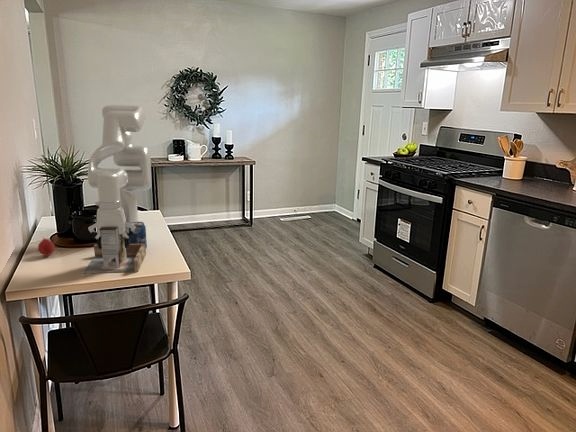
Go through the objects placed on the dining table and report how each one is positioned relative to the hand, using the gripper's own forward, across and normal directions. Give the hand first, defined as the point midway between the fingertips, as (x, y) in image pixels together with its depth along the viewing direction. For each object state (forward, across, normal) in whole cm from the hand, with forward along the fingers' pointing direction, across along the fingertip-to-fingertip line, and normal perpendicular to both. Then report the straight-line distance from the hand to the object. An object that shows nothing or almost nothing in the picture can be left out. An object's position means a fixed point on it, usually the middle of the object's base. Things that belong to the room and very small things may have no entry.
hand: (113, 247), depth 165 cm
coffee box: (+7, 0, 0) cm, 7 cm away
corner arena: (+7, 0, +1) cm, 7 cm away
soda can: (+7, +6, +16) cm, 19 cm away
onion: (+7, -29, +11) cm, 32 cm away
